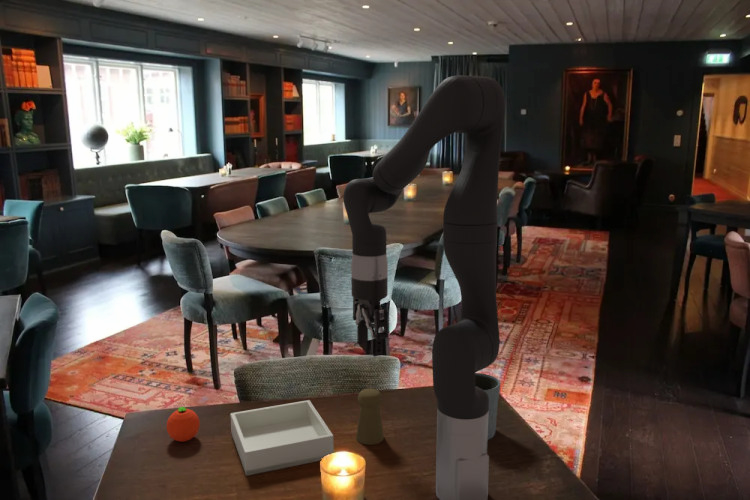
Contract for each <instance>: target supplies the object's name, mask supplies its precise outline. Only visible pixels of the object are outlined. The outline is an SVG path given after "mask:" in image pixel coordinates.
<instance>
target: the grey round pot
mask: <svg viewBox="0 0 750 500" xmlns="http://www.w3.org/2000/svg"><path fill="white" fill-rule="evenodd" d="M475 386H476V387H479V388H481V389H483V390H484V391H485V392H486V393H487V394H488V397H489V413H488V438H487V441H488V440H491V439H493V437H494V436H495V435H496V429H497V413H498V405H499V403H498V402H499V397H500V389H501V381H500V380H499V379H498V378H497V377H495V376H494V375H490V374H486V373H480V372H475Z"/></svg>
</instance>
